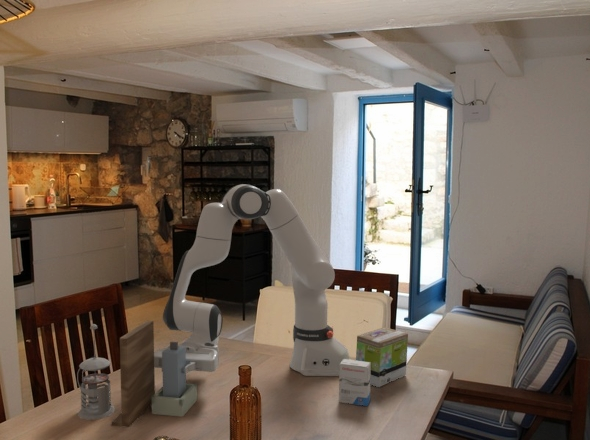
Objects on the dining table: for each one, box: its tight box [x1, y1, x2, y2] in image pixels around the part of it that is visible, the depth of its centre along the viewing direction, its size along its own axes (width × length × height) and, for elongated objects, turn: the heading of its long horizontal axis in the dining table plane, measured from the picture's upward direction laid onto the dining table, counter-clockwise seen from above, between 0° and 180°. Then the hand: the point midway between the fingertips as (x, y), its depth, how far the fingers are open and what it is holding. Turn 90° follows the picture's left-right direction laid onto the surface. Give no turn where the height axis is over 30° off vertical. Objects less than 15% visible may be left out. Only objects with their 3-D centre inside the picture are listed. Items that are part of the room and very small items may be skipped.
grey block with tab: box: [161, 341, 187, 398], centre depth 158 cm, size 4×6×15 cm
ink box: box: [338, 358, 371, 407], centre depth 163 cm, size 8×5×12 cm, turn 71°
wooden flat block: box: [111, 320, 156, 428], centre depth 154 cm, size 5×16×24 cm, turn 170°
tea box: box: [355, 326, 409, 388], centre depth 181 cm, size 15×10×15 cm, turn 135°
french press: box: [76, 323, 115, 421], centre depth 155 cm, size 10×12×25 cm
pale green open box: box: [151, 382, 198, 418], centre depth 159 cm, size 9×11×5 cm
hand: (173, 370), depth 157 cm, fingers closed on grey block with tab, 4 cm apart
